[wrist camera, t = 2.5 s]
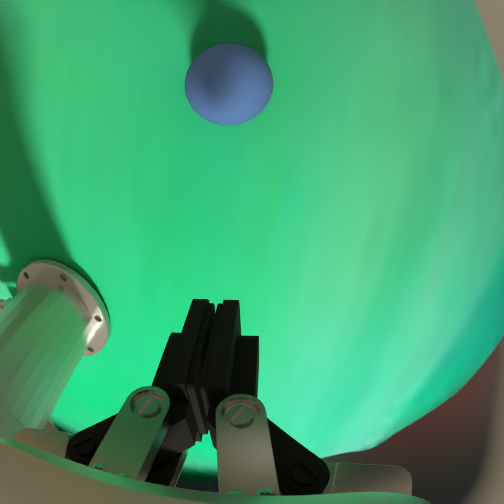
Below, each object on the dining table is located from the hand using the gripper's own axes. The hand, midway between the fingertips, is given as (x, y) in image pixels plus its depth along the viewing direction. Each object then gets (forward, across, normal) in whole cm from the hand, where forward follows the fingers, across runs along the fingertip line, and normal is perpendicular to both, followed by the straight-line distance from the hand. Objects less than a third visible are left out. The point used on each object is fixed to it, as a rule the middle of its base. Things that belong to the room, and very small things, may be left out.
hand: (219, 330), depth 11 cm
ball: (+12, +1, -9) cm, 15 cm away
